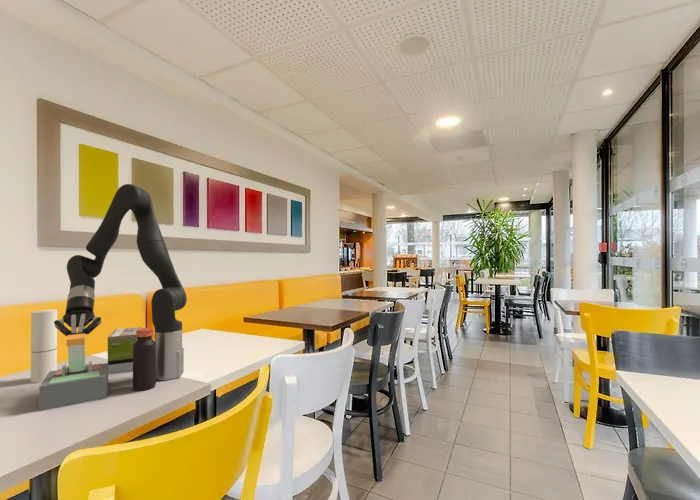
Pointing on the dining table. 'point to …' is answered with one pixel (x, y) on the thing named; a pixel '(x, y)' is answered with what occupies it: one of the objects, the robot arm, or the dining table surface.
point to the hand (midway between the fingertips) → (75, 345)
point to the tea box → (121, 350)
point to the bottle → (144, 360)
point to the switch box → (73, 386)
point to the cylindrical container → (43, 344)
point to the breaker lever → (76, 353)
